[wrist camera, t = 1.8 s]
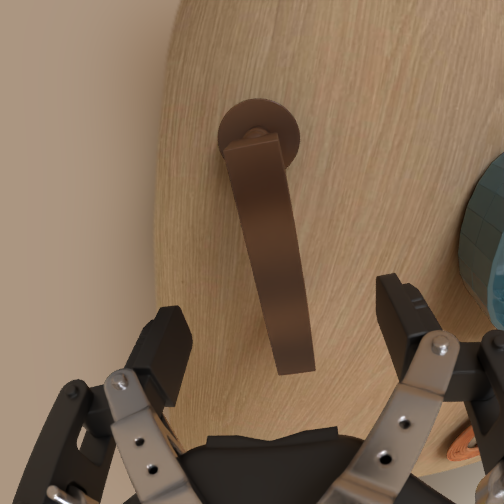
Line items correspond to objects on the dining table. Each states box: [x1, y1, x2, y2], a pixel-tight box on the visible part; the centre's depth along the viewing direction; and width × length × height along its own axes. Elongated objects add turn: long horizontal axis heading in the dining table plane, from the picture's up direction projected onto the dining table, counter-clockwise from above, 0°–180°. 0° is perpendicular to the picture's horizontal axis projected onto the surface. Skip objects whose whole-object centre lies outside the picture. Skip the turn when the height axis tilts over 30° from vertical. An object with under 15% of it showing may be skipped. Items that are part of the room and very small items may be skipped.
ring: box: [447, 425, 480, 461], centre depth 38 cm, size 25×25×2 cm
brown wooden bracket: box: [218, 99, 316, 375], centre depth 19 cm, size 16×5×9 cm, turn 12°
